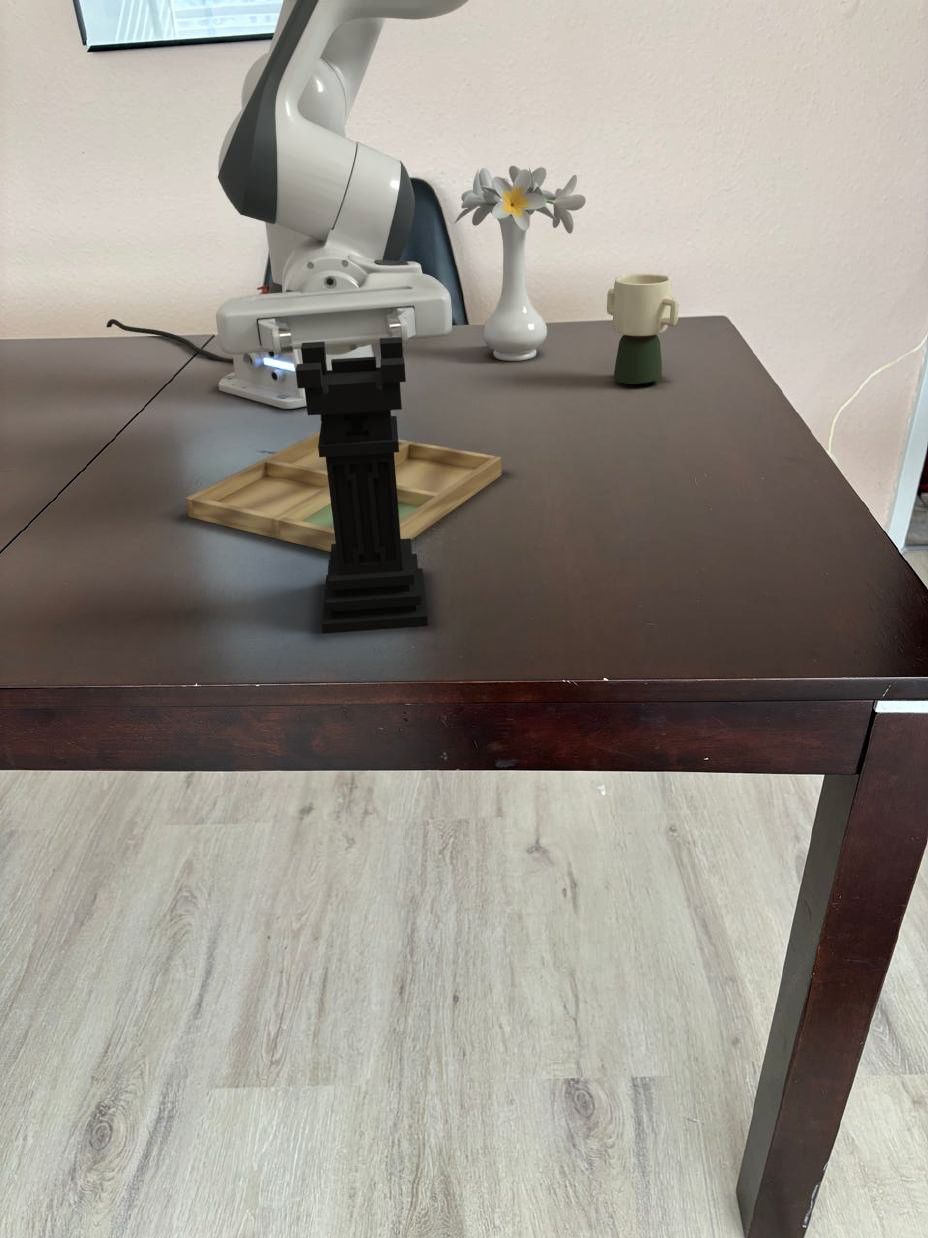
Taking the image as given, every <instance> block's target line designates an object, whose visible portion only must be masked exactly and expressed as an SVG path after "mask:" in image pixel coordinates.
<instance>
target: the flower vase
mask: <svg viewBox="0 0 928 1238" xmlns="http://www.w3.org/2000/svg"><path fill="white" fill-rule="evenodd" d="M508 174H509V177H510V180H511V182H512V184H510V181H509V178H507V177H502V176H498V175H497V176H494V177H493V178H492V175H491V172H490V171H489V169H488V168H486V167H482V168H481V169H480V170H479V169H477V170H476V173H475V175H474V178H473V184H472V189H470V190H466V191H464V192H463V193H462V194H461V196H460V197H461V198H460V199H461V201H462V204H461V209H463V210H462V211H461V212H460V213H459V215H458V216H457V218H456V220H455V221H454V222H453V224H454V225H455V224H456V223H458V221H460V220H461V219H462V218H463V217H465V216H467V214H469V213H471V212H472V211H473V210H475V211H474V212H473V215H472V218H471V223H472V225H473V226H475V227H477V226H478V225H481V223H483V221H484V220H485V219H486V218H487V216H488V215H489V214H491V215H492V217H493V219H496V220H497V221H498V223H499V229H500V232H501V240H502V253H503V255H502V285H501V292H500V296H499V298H498V302H497V304H496V307H495V309H494V310H493V311H492V313H490V314H489V316H488V317H487V318H486V320H485V321H484V323H483V326H482V330H481V336H482V339H483V341H484V343H485V344H486V345H487V347H489V348H490V349H491V350H493V353H492V354H493V357H494V358H496V359H497V360H501V361H508V362H517V361H518V362H520V361H527V360H530V359H533V358H535V357H536V355H537V349H538V348H539V347H541V346H542V345H543V344H544V342H545V341H546V338H547V336H548V327H547V324H546V322H545V320H544V318H543V316H542V315H541V313H539V312H538V311H537V309H535V307H534V306H533V304H532V302H531V299H530V297H529V293H528V288H527V276H526V253H525V251H526V237H527V230H529V228H530V225H531V216H532V215H533V214H534V213H535V211H536V212H538V213H540V214H543V215H545V216H547V217H548V218H550V219H551V220H552V222H551V223H552V228H553V229H557V228H558V227H559V225H560V223H562V225H563V227H564V229H565V232H567V234H569V235H571V234H572V233H573V231H574V218H573V215H572V214H571V212H572V211H573V212H575V211H578V210H581V209H582V208H583V207H584V206H585V205H586V203H587V199H586V197H585V196H584V195H582V194H573V192H574V191H575V189H576V187H577V184H578V175H577V174H574V175H572V176H571V177H570V178H569V180H568V181H567V183H566V184H565V186H564V187H563V188H557V189H556V190H555V192H552V191H550V190H548V189H541V187H542V185H543V184H544V182H545V180H546V178H547V169H546V168H545V167H543V166H542V167H541V166H540V167H537V168H535V169H534V170H533V171H531V168H530V167H529V168H528V169H527V168H524V169H521V168H519V167H518V166H516V165H510V166H509V168H508ZM547 204H550V205H552V206H553V212H552V210H551V209H550V208H549V207H548V205H547Z"/></svg>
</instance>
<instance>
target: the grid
mask: <svg viewBox="0 0 928 1238" xmlns="http://www.w3.org/2000/svg"><path fill="white" fill-rule="evenodd" d="M319 436H320V430H319V431H316V432H315V433H313V434H311V435H308V436H307V437H306V436H305V438H302V439H301V440H298V441H296V442H294V443H291V445H288V446H286V447H285V448H283V449H280V450H278V451H276V452H274V453H271V454H270V455H268V456H266V457H265V458H263V459H260V460H259V461H257V462H255V463H252V464H250V465H248V466H246V467H245V468H242V469H241V470H239V471H236V472H234V473H232V474H229V476H227V477H225V478H222V479H221V480H219V481H216V482H215V483H213V484H211V485H208V486H206V487H204V488H202V489H200V490H198V491H197V492H194V493H193V494H190V495H188V496H186V497H185V498H184V500H185V501H184V502H185V507H186V511H187V517H188V518H192V519H194V520H200V521H203V522H206V523H207V522H208V523H211V524H214V525H215V524H216V525H219V526H224V527H228V528H232V529H236V530H239V531H244V532H248V533H252V534H256V535H260V536H265V537H268V538H272V539H277V540H280V541H285V542H289V543H292V544H296V545H300V546H305V547H309V548H312V549H316V550H321V551H324V552H329V553H331V544H336V542H335V533H334V525H333V516H332V508H331V499H330V491H329V482H328V474H327V465H326V457H319V451H318V443H319ZM398 443H399V452H395V453H394V459H395V471H396V484H397V497H398V510H399V522H400V535H401V539H408V538H411V541H412V540H413V539H415V538H416V537H417V536H419V535H420V534H421V533H423V532H424V531H426V530H427V529H428V528H431V526H433V525H434V524H436V523H437V522H438V521H440V520H441V519H442V518H444V517H445V516H447V515H449V514H450V512H452V511H454V510H455V509H456V508H458V507H459V506H460V505H462V504H463V503H465V502H466V501H467V500H469V499H470V498H472V497H473V496H474V495H476V494H477V493H478V492H480V491H481V490H483V489H484V488H486V487H487V486H488V485H490V484H491V483H493V482H494V481H495V480H497V479H498V478H500V477H501V476H502V457H501V456H496V455H493V454H492V455H491V454H486V453H480V452H474V451H468V450H463V449H458V448H452V447H447V446H440V445H434V444H428V443H422V442H417V441H410V440H405V439H399V438H398Z"/></svg>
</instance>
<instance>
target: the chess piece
mask: <svg viewBox="0 0 928 1238" xmlns="http://www.w3.org/2000/svg"><path fill="white" fill-rule="evenodd" d="M403 347H404V346H403V343H402V337H393V338H380V342H379V351H380V359H379V360H380V361H379V362H380V363H379V364H380V366H377V358H376V356H374V357H360V358H344V359H332V360H331V365H332V370H327V364H326V351H325V342H308V343H302V346H301V354H302V362H303V364H297V366H296V379H297V386H298V389H299V388H304V389H305V397H306V405H307V406H306V412H307V416H319V415H320V429H319V431H320V436H319V443H318V451H319V457H326V465H327V474H328V482H329V491H330V499H331V508H332V516H333V525H334V533H335V542H336V544H331V552H330V558H329V559H328V563H327V564H328V565H327V574H326V576H325V583H324V584H325V586H324V597H323V606H322V608H323V609H322V618H321V619H322V620H321V627H322V633H323V634H329V633H342V632H358V631H369V630H370V631H371V630H381V629H396V628H397V629H398V628H409V627H423V626H428V625H429V620H428V609H427V600H426V590H425V579H424V569H423V567H419V562H418V554H417V553H413V548H412V540H411V538H408V539H401V535H400V522H399V510H398V497H397V484H396V471H395V459H394V453H395V452H399V443H398V439H399V432H398V430H399V429H398V418H397V415H392V411H400V410H403V406H402V393H401V391H402V390H401V383H406V382H407V379H406V378H407V377H406V367H405V366H406V364H405V357H404V348H403ZM376 366H377V367H376Z"/></svg>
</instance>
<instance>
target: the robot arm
mask: <svg viewBox="0 0 928 1238" xmlns="http://www.w3.org/2000/svg"><path fill="white" fill-rule="evenodd" d="M469 1H470V0H282V5H281V9H280V11H279V14H278V19H277V22H276V26H275V30H274V33H273V35H272V39H271V43H270V46H269V49H268V52H266V53H264V54H262V55H261V56H260V57H259V58H257V59H256V60H255V62H254V63H253V64H252V65H251V66H250V68H249V69H248V72H247V73H246V75H245V76H244V79H243V83H242V87H241V88H242V89H241V96H240V97H241V100H240V101H241V110H240V111H239V112H238V113H237V115H236V117H235V118H234V119H233V121H232V123H231V124H230V126H229V128H228V130H227V131H226V134H225V136H224V139H223V140H222V144H221V148H220V151H219V156H218V161H217V162H218V164H217V167H218V170H217V171H218V174H217V180H218V182H219V185H220V187H221V189H222V191H223V192H224V194H225V196H226V198H227V199H228V200H229V202H230V203H231V205H232V206H233V207H234V209H235V210H236V211H237V213H238V214H239V215H240V216H243V217H247V218H251V219H254V220H256V221H261V222H264V225H265V232H266V239H267V248H268V254H269V261H270V269H271V277H272V280H270V282H268V284H266V285H263V286H262V285H261V286H259V287H257V288H256V290H257V291H259V290H261V292H260V293H258V294H247V295H241V296H236V297H231V298H229V299H226V300H225V301H224V302H223V303H222V304H221V305H220V306H219V307H218V309H217V310H216V312H215V323H216V328H217V329H216V330H217V335H218V341H219V346H220V349H221V351H222V352H223V353H225V354H229V355H232V358H226V357H223V356H219V355H217V354H215V353H212V352H210V351H207V350H205V349H202V348H200V347H198V346H196V345H195V344H194V343H193V342H191V341H190V340H188V339H186V338H184V337H182V336H180V335H177V334H174V333H171V332H167V331H163V330H158V329H153V328H145V327H144V328H143V327H135V326H129V325H126V324H123V323H121V322H120V321H119V320H117V319H115V318H111V319H109V320H108V321H107V323H106V328H112V326H113V325H115V326H116V327H117V328H119V329H121V330H123V331H126V332H131V333H137V334H146V335H154V336H160V337H164V338H168V339H171V340H174V341H177V342H179V343H181V344H183V345H185V346H187V347H188V348H190V349H191V350H192V351H193V352H195V353H196V354H198V355H201V356H203V357H206V358H208V359H211V360H213V361H217V362H222V363H228V364H233V372H231V373H229V374H226V376H223V377H222V378H221V379H220V380H219V382H218V391H220V392H224V393H227V394H230V395H234V396H237V397H241V398H244V399H248V400H251V401H255V402H258V403H262V404H265V405H268V406H272V407H276V408H279V409H283V410H292V409H298V408H304V407H307V405H306V397H305V389H304V388H299V389H298V386H297V379H296V366H297V364H303V362H302V354H301V346H302V343H308V342H325V351H326V364H327V370H332V365H331V360H332V359H344V358H360V357H375V356H374V351H373V347H372V345H373V344H376V343H380V338H393V337H402V344H408V343H409V340H419V339H430V338H442V337H447V336H448V335H450V334H451V333H452V331H453V311H452V309H453V308H452V299H451V294H450V291H448V289H447V287H445V285H443V284H442V282H440V281H439V280H438V279H436V278H435V277H434V276H432V275H430V274H426V273H423V270H422V265H421V264H420V263H419V262H416V261H406V260H400V259H401V258H402V255H403V254H404V251H405V248H406V246H407V243H408V240H409V238H410V237H409V236H410V233H411V230H412V226H413V222H414V216H415V209H416V208H415V205H416V199H415V193H414V188H413V185H412V180H411V178H410V175H409V172H408V170H407V168H406V166H405V164H404V163H403V162H402V160H399V159H397V158H395V157H393V156H391V155H389V154H386V153H384V152H382V151H381V150H378V149H375V148H373V147H371V146H369V145H366V144H364V143H362V142H360V141H355V140H352V139H351V138H348V137H347V135H346V124H347V122H348V119H349V116H350V114H351V111H352V108H353V106H354V103H355V100H356V98H357V95H358V94H359V90H360V87H361V85H362V82H363V80H364V78H365V75H366V72H367V69H368V67H369V65H370V61H371V59H372V56H373V54H374V51H375V49H376V46H377V43H378V40H379V37H380V35H381V32H382V30H383V27H384V24H385V22H386V20H387V19H396V20H426V19H427V20H428V19H433V18H438V17H442V16H446V15H447V14H450V13H453V12H455V11H457V10H458V9H460V8H462V7H464V5H465V4H467V3H468V2H469ZM262 290H263V291H262ZM376 367H378V366H377V365H376Z"/></svg>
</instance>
